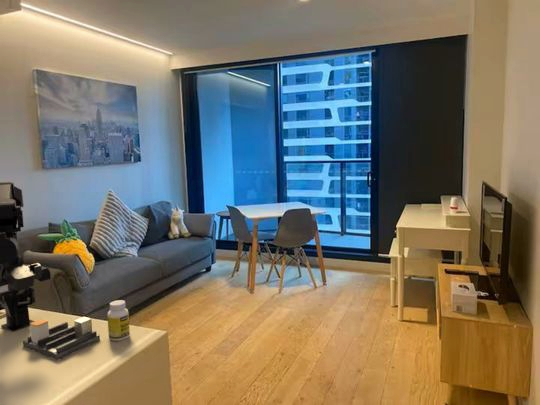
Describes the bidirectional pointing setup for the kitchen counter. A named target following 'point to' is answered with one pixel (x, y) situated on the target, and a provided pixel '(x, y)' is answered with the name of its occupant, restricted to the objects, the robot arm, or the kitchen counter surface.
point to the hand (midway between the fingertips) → (11, 315)
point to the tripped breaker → (39, 330)
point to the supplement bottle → (118, 321)
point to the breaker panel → (65, 339)
